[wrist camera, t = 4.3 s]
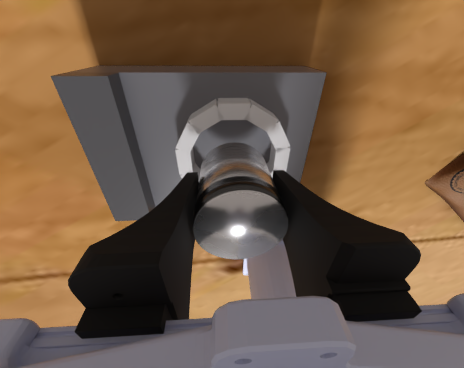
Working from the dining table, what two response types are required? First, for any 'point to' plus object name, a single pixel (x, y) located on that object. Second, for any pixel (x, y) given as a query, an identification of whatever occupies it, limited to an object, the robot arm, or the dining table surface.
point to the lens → (237, 204)
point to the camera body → (184, 122)
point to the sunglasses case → (450, 185)
